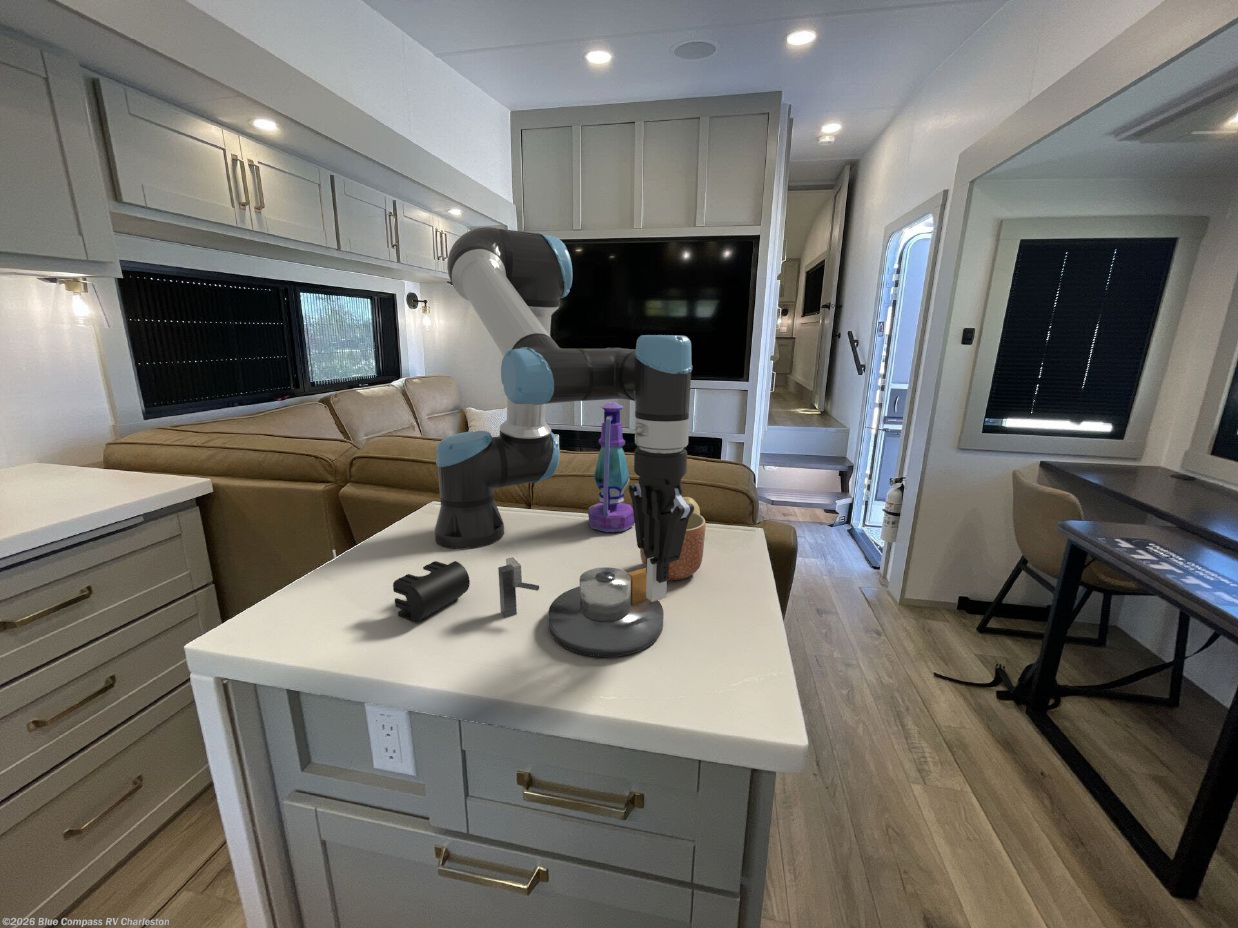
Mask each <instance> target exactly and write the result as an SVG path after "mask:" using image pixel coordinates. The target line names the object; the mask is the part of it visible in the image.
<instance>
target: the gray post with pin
mask: <svg viewBox="0 0 1238 928" xmlns="http://www.w3.org/2000/svg"><path fill="white" fill-rule="evenodd" d="M505 564H506V565H503V566H499V567H498V568H497V569H498V585H499V586H498V587H499V605H500V613H501V615H503V617H504V618H508V617H513V616H515V615H517V614H518V611H517V589H516V588H520V589H526V590H532V591H537V592H538V591H540V585H539V584H538V585H537V584H532V583H527V582H522V580H523V579H522V564H520V563H519V562H518V560H517V559H516V558H514V557H513V556H512V557H508V558H507V557H506V558H505Z"/></svg>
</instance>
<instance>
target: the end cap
mask: <svg viewBox="0 0 1238 928" xmlns="http://www.w3.org/2000/svg"><path fill="white" fill-rule="evenodd" d="M422 570H424V571H428V572H430V573H428V574H425V575H419V576H418V575H413V574H410V573H408V574H405V575H404V576H401V577H399V578H397V579H395V580H394V581H393V583H392V587H393V588H392V589H393V592H394V593H396V594H399V595H402V596H404V597H405V599H406V600H404V599H401V598H397V597H396V598H394V606H395V608H397V609H400V610H398V611H397V615H398V617H399V618H402V619H404V620H407V621H410V622H412V623H418V622H420V621H422V620H423V619H425V618H427V617H428V616H430V615H431V614H433V613H435V612H437V611H438V610H441V609H442V608H444V607H445V606H447V605H448V604H451V603H452V602H453V601H455V600H457V599H459V598H460V597H462V596H463V595H464V594H465V593H467V592H468V591H469V588H470V583H471V582H470V581H471V580H470V577H469V572H468V571H467V569H466V567H464V565H463V564H462V563H460V562H459V561H457V560H454V561H452V562H450V563H448V564H447V563H443V562H440V561H436V560H435V561H432V562H431V563H428V564H426V565H425V566H423V567H422Z"/></svg>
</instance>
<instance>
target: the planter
mask: <svg viewBox="0 0 1238 928" xmlns="http://www.w3.org/2000/svg"><path fill="white" fill-rule="evenodd" d="M705 536H706V520H705V518H704V516H702V515H701V514H700V515H699V514H697V513H695V512H693V513H692V514H691V516H690V517H689V520H688V524H687V529H686V533H685V537H684V541H683V546H682V550H681V554H680V559H679V560H677V561H673V562H670V563H669V574H668V581H679V580H684V579H687V578H690V576H693V575H694V574H695V573H696V572H697V571H698V570H699V569H700V567H701V565H702V561H703V557H704V546H705V539H706V537H705ZM643 540H644V538H643ZM639 552H640V553H639V555H640V561H641V563H642V565H643V566H644V568H646V556H645V555H644V550H643V549H642V548H641V549H640V550H639Z"/></svg>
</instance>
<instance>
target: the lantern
mask: <svg viewBox="0 0 1238 928" xmlns="http://www.w3.org/2000/svg"><path fill="white" fill-rule="evenodd" d="M599 407H600V408H601V409H602V410H604V411H603V422H602V423H601V434H600V438H599V439H598V443H599V445H600V446H601V447H600V450H599V452H598V453H599V454H598V456H597V459H596V460H597V461H596V465H595V470H594V474H593V479H594V482H595V484H596V486H597V487H598V489H599V494H598V496H599V497H598V501H599V502H597V503H596V504H593V505H591V506H589V507H588V510H587V511H588V513H587V514H588V523H589V525H590V528H591V529H594V530H597V531H601V532H604V533H616V532H625V531H626V530H628V529H631V528H632V527H635V522H634V514H633V506H632V505H631V504H629V503H624V502H625V499H624V497H625V493H624V492H625V490H626V489H627V486H629V483H630V474H629V469H628V463H627V459H626V455H625V451H624V449H623V447H624V446H625V445H626V440H625V439H624V438H623V425H622V423H621V422H620V421H621V411H622V409H624V408H625V406H623V405H621V404H619V403H617V402H615V401H609V402H607V403H605V404H601V405H600V406H599Z"/></svg>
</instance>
